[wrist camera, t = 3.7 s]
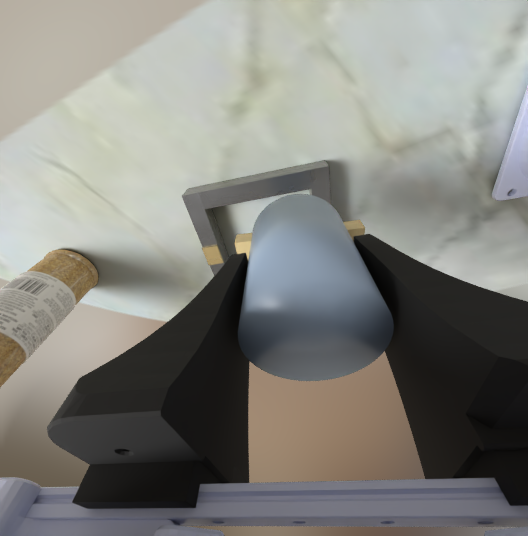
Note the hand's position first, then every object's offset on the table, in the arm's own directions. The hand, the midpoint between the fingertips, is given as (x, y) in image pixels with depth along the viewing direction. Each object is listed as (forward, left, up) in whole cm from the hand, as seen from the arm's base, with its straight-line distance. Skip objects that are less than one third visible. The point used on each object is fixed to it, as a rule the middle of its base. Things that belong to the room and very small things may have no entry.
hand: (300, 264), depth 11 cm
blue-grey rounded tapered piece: (0, 0, -2) cm, 2 cm away
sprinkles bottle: (+20, +3, -9) cm, 22 cm away
